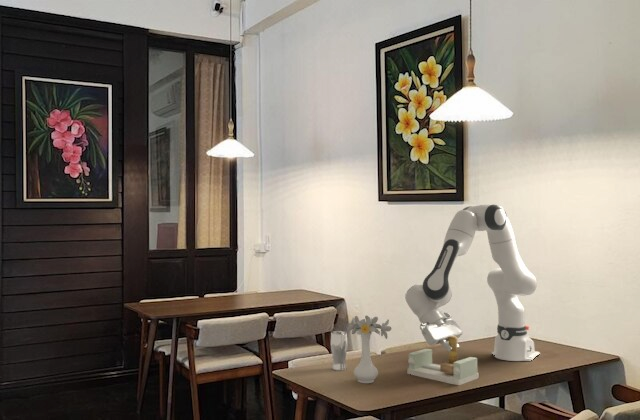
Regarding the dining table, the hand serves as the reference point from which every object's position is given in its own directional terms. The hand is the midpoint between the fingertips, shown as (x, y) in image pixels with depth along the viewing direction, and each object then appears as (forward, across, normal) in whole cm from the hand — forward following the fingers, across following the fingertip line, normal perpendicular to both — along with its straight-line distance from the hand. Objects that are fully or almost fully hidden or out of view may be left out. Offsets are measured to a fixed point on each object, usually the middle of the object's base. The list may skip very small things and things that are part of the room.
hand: (454, 349), depth 252 cm
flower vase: (-8, -26, +24) cm, 36 cm away
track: (+4, 0, +12) cm, 13 cm away
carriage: (+5, 0, +6) cm, 8 cm away
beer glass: (-22, -20, +38) cm, 48 cm away
